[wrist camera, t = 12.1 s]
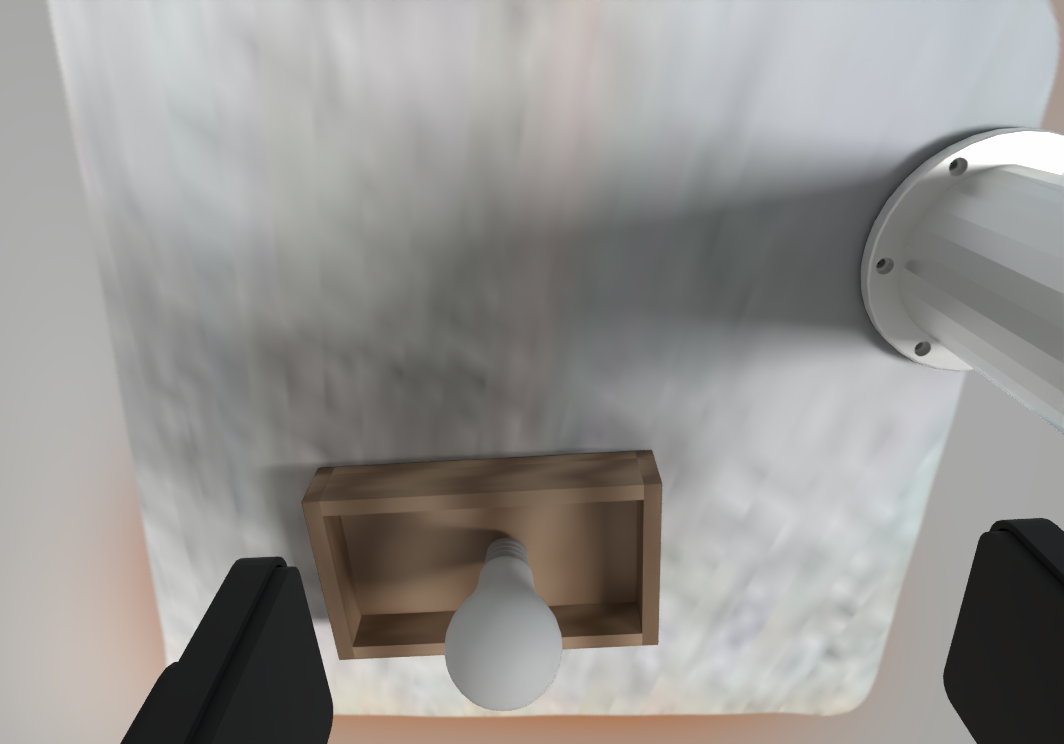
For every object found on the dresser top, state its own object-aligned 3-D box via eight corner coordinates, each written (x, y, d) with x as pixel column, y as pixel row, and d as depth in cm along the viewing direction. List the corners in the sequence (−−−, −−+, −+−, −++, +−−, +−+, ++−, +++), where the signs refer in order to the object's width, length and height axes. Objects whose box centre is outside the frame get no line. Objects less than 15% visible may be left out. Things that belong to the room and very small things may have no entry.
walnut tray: (651, 450, 42) (662, 483, 39) (649, 604, 47) (658, 644, 44) (318, 467, 42) (301, 502, 39) (351, 618, 47) (339, 659, 44)
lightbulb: (576, 546, 44) (591, 698, 34) (506, 597, 45) (500, 755, 36) (508, 487, 42) (503, 630, 32) (437, 543, 44) (411, 694, 34)
